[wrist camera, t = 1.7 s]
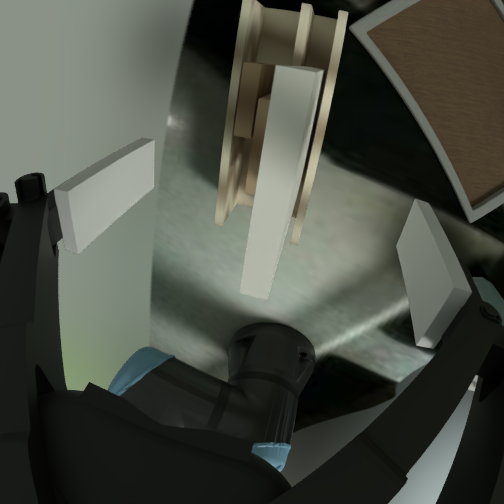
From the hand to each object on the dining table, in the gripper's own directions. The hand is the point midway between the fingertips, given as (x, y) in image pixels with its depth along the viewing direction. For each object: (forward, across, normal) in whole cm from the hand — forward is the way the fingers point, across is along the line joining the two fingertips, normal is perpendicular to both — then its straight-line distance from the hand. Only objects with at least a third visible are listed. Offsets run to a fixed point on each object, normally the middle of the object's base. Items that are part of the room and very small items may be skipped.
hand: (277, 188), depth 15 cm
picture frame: (+23, -20, -8) cm, 32 cm away
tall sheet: (+21, 0, 0) cm, 21 cm away
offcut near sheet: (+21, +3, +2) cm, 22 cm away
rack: (+22, +3, 0) cm, 23 cm away
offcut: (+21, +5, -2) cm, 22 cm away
